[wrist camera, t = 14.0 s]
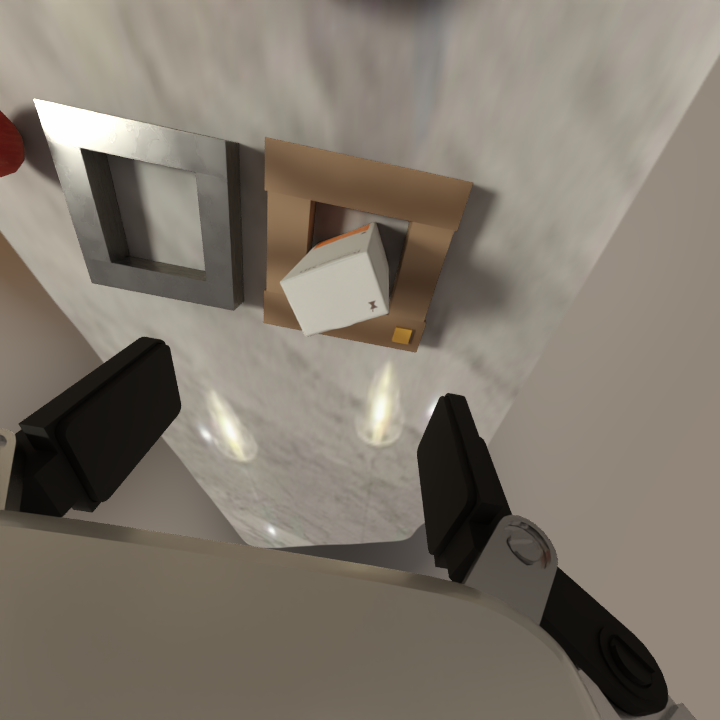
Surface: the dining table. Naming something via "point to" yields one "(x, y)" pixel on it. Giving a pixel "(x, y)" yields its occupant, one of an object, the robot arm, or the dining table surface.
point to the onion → (10, 147)
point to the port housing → (369, 194)
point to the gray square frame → (101, 213)
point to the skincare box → (340, 282)
